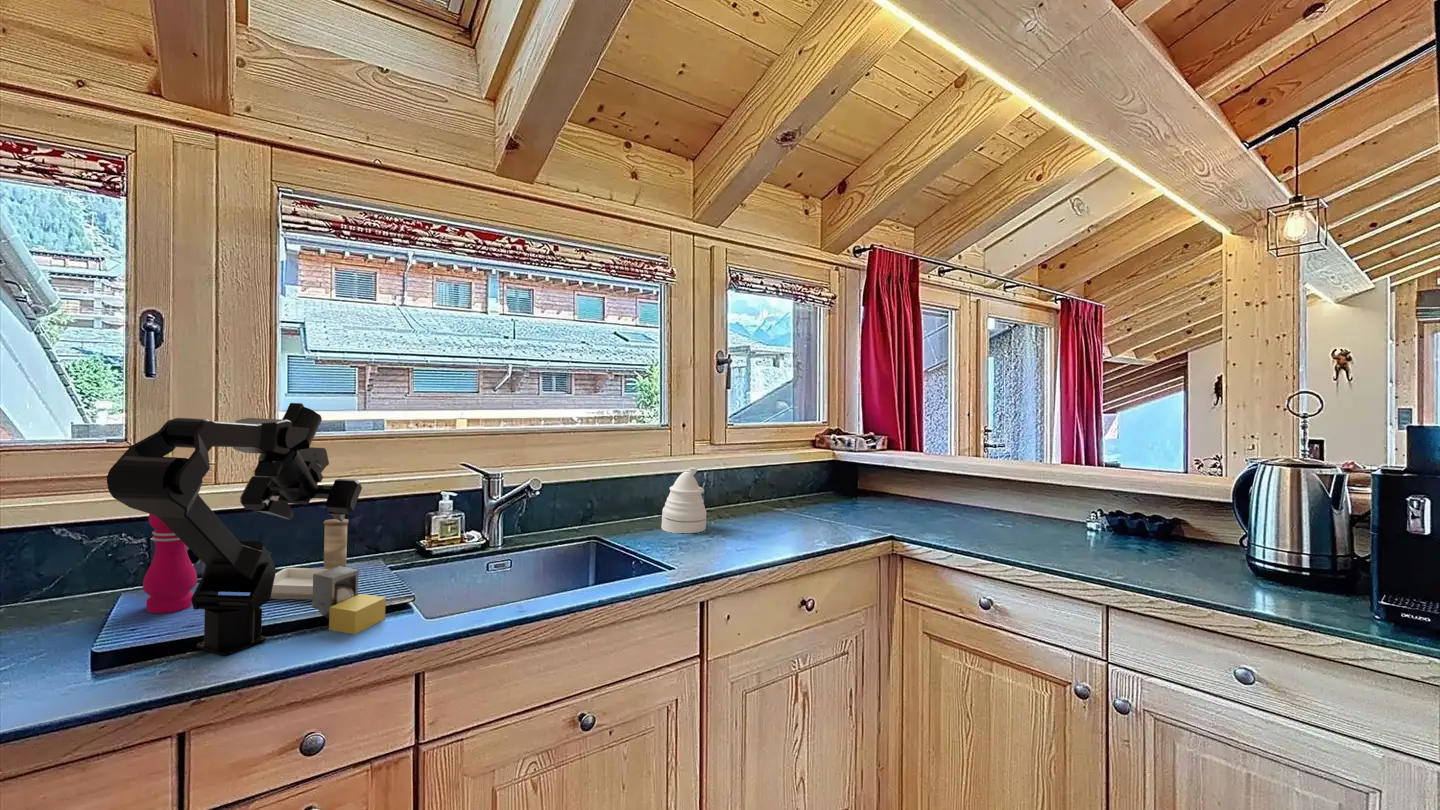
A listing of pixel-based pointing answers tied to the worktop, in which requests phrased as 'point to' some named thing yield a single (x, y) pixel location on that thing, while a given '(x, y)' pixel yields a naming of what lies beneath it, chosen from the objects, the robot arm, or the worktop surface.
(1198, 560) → the worktop surface
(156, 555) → the pepper mill
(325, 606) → the wheel bracket
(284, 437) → the robot arm
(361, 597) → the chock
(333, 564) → the pin
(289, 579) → the tray
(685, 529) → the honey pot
